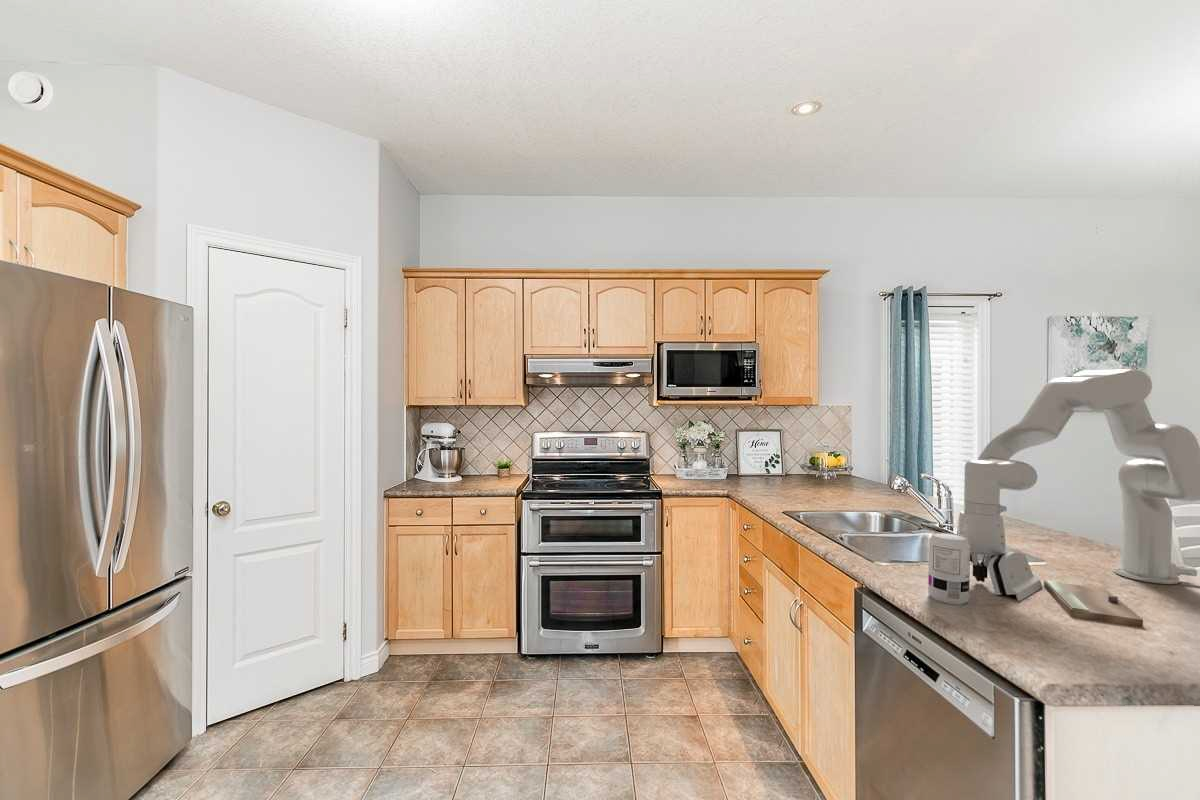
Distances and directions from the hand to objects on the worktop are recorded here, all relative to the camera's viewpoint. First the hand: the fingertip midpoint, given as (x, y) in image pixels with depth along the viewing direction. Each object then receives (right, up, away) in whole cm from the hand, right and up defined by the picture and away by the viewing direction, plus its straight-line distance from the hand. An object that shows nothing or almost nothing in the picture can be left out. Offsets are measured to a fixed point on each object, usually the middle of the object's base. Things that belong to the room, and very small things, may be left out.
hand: (979, 579), depth 142 cm
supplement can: (-15, -1, -11) cm, 18 cm away
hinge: (+6, -1, -4) cm, 7 cm away
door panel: (+16, -1, -13) cm, 21 cm away
